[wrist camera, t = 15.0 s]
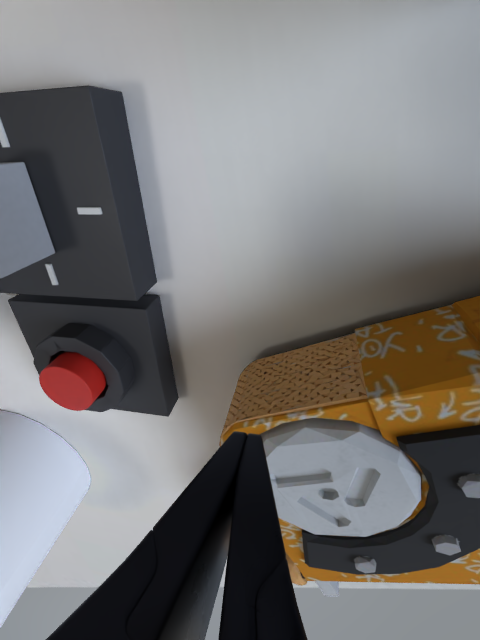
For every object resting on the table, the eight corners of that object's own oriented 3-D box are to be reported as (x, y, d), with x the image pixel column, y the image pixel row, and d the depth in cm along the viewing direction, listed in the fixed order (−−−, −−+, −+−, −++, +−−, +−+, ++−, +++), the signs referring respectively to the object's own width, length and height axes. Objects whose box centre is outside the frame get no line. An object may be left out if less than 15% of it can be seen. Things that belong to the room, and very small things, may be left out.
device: (766, 660, 17) (255, 621, 28) (634, 505, 24) (267, 524, 35) (927, 297, 8) (102, 452, 20) (649, 220, 15) (158, 368, 27)
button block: (29, 287, 25) (-15, 311, 22) (159, 295, 23) (132, 323, 20) (68, 384, 30) (37, 416, 27) (178, 398, 28) (159, 434, 25)
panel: (-44, 105, 19) (-102, 100, 17) (122, 91, 17) (86, 84, 14) (25, 275, 25) (-11, 293, 22) (157, 282, 23) (135, 302, 20)
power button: (48, 349, 23) (30, 364, 22) (98, 354, 22) (82, 370, 21) (66, 391, 25) (50, 407, 24) (112, 396, 24) (98, 414, 23)
